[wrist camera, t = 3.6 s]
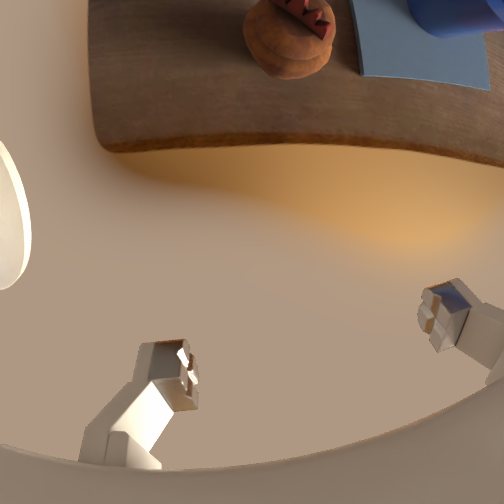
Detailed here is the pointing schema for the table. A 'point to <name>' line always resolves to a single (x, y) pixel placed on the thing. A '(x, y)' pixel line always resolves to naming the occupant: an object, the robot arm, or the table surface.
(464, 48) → the blue mat
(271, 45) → the wooden figurine
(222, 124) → the table surface
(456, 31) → the blue bottle
